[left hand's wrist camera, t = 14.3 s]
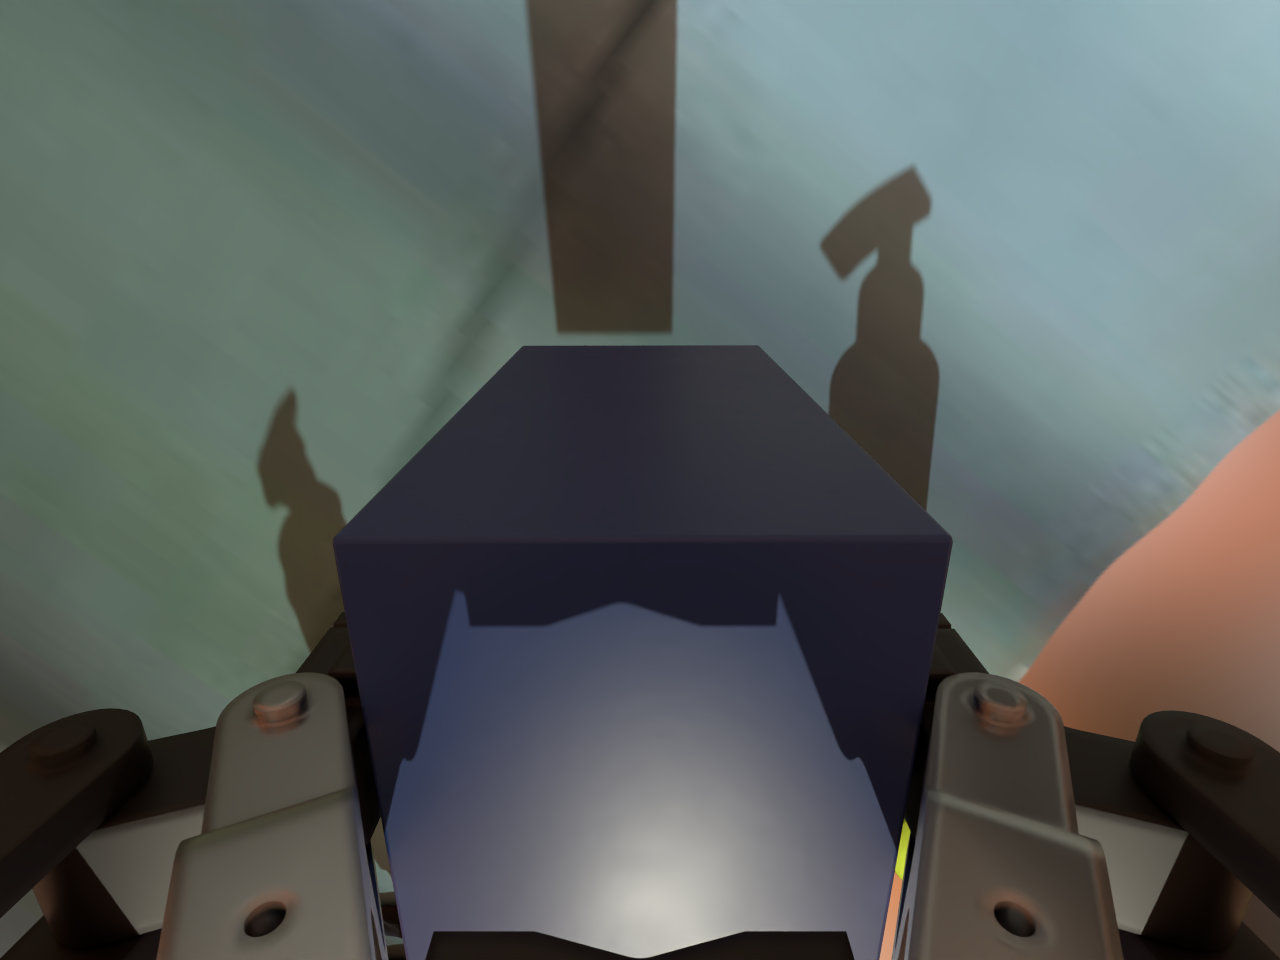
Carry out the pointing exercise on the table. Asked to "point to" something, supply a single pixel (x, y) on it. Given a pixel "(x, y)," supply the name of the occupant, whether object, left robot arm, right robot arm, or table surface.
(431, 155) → the table surface
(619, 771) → the box
